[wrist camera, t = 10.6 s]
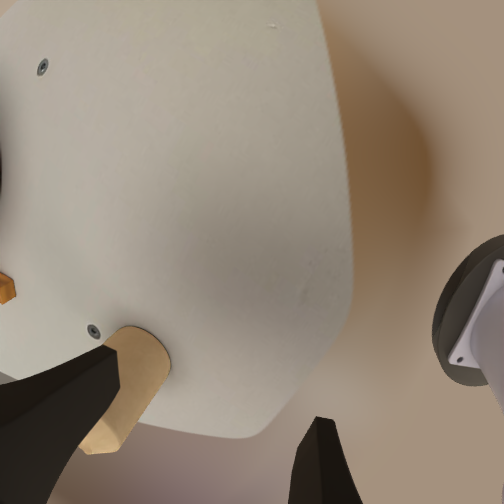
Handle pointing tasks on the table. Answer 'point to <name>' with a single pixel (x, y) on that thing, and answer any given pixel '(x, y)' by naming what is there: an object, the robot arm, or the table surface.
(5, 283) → the fry stick
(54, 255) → the table surface
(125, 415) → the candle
